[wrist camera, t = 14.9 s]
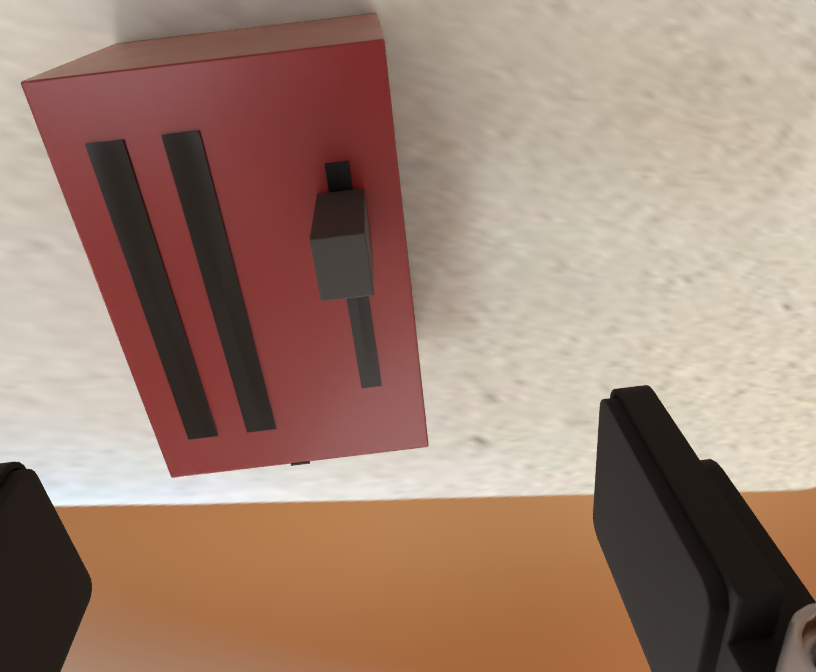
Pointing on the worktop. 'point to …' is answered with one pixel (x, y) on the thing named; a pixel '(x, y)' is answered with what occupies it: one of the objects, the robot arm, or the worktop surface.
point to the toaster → (242, 236)
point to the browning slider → (342, 245)
